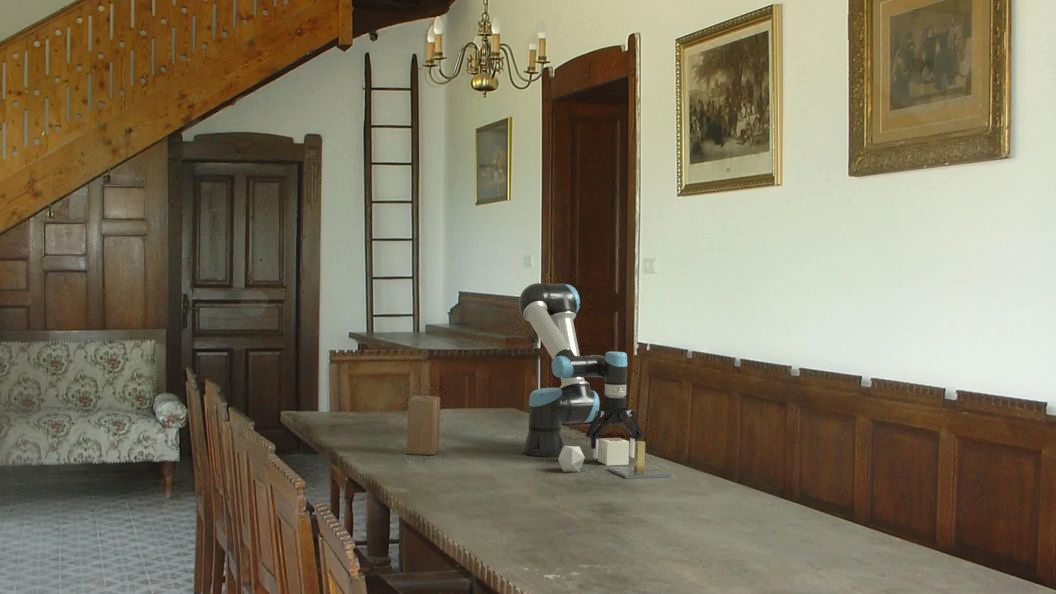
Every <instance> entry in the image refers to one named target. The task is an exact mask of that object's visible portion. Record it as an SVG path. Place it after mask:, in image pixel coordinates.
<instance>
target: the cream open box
mask: <svg viewBox="0 0 1056 594" xmlns="http://www.w3.org/2000/svg"><path fill="white" fill-rule="evenodd" d="M598 440H599V441H598V459H597V461H598V462H599V463H601V464H603V465H605V466H629V461H630V460H629V459H630V440H626V439H625V438H621V437H612V438H611V437H607V438H606V437H603V438H601V437H600V438H598Z"/></svg>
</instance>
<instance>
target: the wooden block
mask: <svg viewBox="0 0 1056 594" xmlns="http://www.w3.org/2000/svg"><path fill="white" fill-rule="evenodd" d="M440 421H441V397H440V396H438V395H419V394H418V395H417V394H416V395H415V394H414V395H413V396H411V397H409V398H408V401H407V430H406V431H407V432H406V433H407V434H406V437H407V438H406V441H407V442H406V453H407V455H411V456H412V455H415V456H419V455H420V456H434V455H436V454H437V453H438V452H439V450H440V428H441V427H440V425H441V423H440Z"/></svg>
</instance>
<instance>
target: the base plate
mask: <svg viewBox="0 0 1056 594" xmlns="http://www.w3.org/2000/svg"><path fill="white" fill-rule="evenodd" d="M645 458H646V441H642V440H637V441H635V454H634V458H633V460H634V462H633V465H616V466H607V471H609V472H611V473H613V474H615V475H618V476H619V477H621V478H624V479H625V480H630V479H654V478H655V479H663V478H672V476H673V475H672V473H669V472H668V471H665V470H663V469H660V468H658V467H656V466H654V465H646V462H645V461H646V459H645Z"/></svg>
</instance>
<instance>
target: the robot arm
mask: <svg viewBox="0 0 1056 594" xmlns="http://www.w3.org/2000/svg"><path fill="white" fill-rule="evenodd" d="M519 296H520V297H519V299H518V300H519V302H518V306H519V307H518V308H519V310H520V311H519V312H520V313H521V315H522V317H523V318H524V320H525V321H526V322H529V323H530V325H531V326H532V327H533V329H534V331H535V334H537V336H538V338H539V339H540V341H541V343H542V344H543V346H544V347H545V350H546V351H547V352H548V354H549V356H550V357H551V359H552V361H551V369H552V374H553V375H554V377H556V378H560V382H561V385H560V387H545V388H544V387H543V388H538V389H534V390H532V391H531V392H530V394H529V398H528V399H529V400H528V432H527V435H526V438H525V441H524V444H523V448H522V453H523V454H524V455H528V456H533V457H543V458H545V457H547V458H549V457H551V458H552V457H559V456H560V453H561V451H562V449H563V446H565V444H564V440H563V436H562V431H561V430H562V427H561V426H562V424H565V425H566V424H585V423H591V424H590V426H589V428H588V430H587V432H586V434H585V437H587V438H589V439H590V449H593V453H592V458H594V459H595V460H598V456H599V438H598V437H599V436H600V435H601V433H602V432H603V431H604V430H605V428H606V427H607V426H608V425H610V424H613V425H615V424H621V425H623V427H624V428H625V429H626V431H627V432H628V433H629V435H630V436H631V437H629V458H633V459H634V454H635V441H638V439H639V438H640V437H641V438H642V437H643V432H642V429H641V428H640V427H641V426H640V425H639V423H638V420H637V418H636V415H635V413H636V412H635V410H633V409H629V410H627V408H626V407H627V398H626V396H627V381H628V376H627V375H628V354H627V353H626V352H624V351H607V352H605V355H599V354H591V355H580V349H579V344H578V340H577V335H576V329H575V325H574V319H575V318H576V317H577V313H578V311H579V309H580V304H581V303H580V302H581V300H580V295H579V292H578V290H577V289H576V287H574V286H572V285H570V284H568V283H567V284H565V283H561V282H560V283H539V282H536V283H531V284H530V285H528V286H527V287H525V288H524V289H523V291H522V292H521V294H520V295H519ZM585 378H602V379H603V378H604V395H605V397H604V399H603V400H604V403H603V404H604V409H603V410H600V397H599V394H598V393H597V392H596V391H595V390H592V389H591V386H590V383H589V382H588V381H587V380H585ZM626 416H628V417H629V420H630V423H631V424H632V426H631V425H630V424H629V423H628V421H627V420H626ZM603 417H604V418H603ZM601 418H603V420H602V421H601V423H600V424H599V422H600V420H601Z"/></svg>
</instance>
